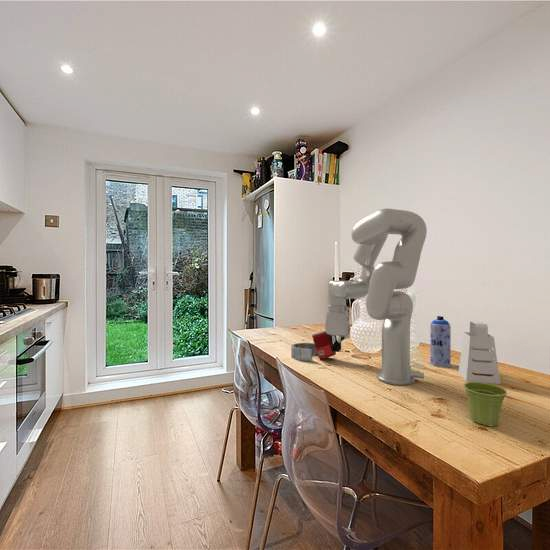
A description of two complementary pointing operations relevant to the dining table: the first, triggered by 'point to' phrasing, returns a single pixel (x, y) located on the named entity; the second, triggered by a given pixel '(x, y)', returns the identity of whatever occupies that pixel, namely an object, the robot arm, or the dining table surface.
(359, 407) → the dining table surface
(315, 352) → the duct collar
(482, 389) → the plant pot
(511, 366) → the dining table surface
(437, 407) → the dining table surface
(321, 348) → the canned food
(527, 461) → the dining table surface
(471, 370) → the grater
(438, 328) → the aerosol can
